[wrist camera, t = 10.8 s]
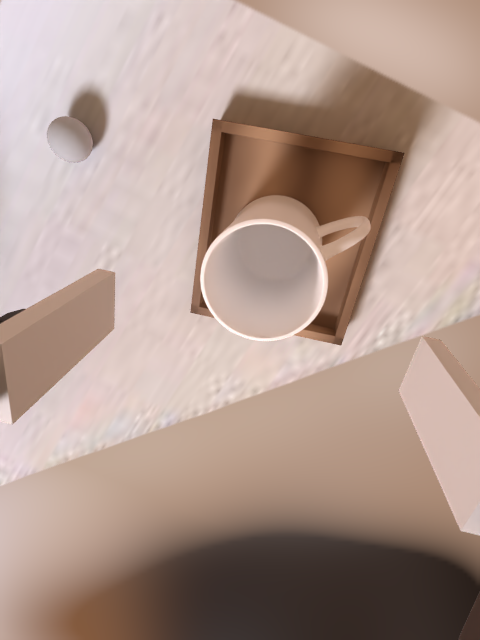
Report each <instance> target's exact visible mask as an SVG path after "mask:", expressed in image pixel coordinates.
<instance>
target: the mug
mask: <svg viewBox="0 0 480 640" xmlns="http://www.w3.org/2000/svg"><path fill="white" fill-rule="evenodd" d="M353 227H357V228H356V229H355V230H353V231H352V232H350V233H349V234H347V235H345V236H343V237H342V238H340V239H338V240H336V241H334V242H331V243H329V244H326V245H323V246H322V237H323V236H325V235H327V234H330V233H333V232H336V231H339V230H343V229H347V228H353ZM370 229H371V224H370V221H369V220H368V218H366V217H364V216H354V217H348V218H344V219H340V220H337V221H333V222H330V223H327V224H324V225H321V226H319V223H318V221H317V219H316V217H315V216H314V214H313V213H312V212H311V211H310V209H309V208H307V207H306V206H305V205H304V204H303V203H301V202H299V201H298V200H296V199H293V198H290V197H287V196H281V195H270V196H265V197H261V198H259V199H256V200H254V201H252V202H251V203H249V204H248V205H247V206H245V207H244V208H243V209H242V210H241V211H240V212H239V214H238V215H237V217H236V218H235V220H234V222H232V223H231V224H230V225H229V226H228V227H227V228H226V229H225V230H224V231H223V232H222V233H221V234H220V235H219V236H218V237H217V238H216V239H215V240H214V241H213V243H212V244H211V245H210V247H209V248H208V250H207V252H206V254H205V257H204V259H203V263H202V267H201V274H200V283H201V290H202V294H203V298H204V300H205V303H206V305H207V307H208V309H209V310H210V312H211V313H212V315H213V316H214V317H215V318H216V319H217V321H218V322H219V323H220V324H222V325H223V326H224V327H225V328H227V329H228V330H230V331H231V332H233V333H235V334H237V335H239V336H241V337H244V338H247V339H251V340H257V341H274V340H280V339H284V338H287V337H290V336H292V335H294V334H296V333H298V332H300V331H301V330H303V329H304V328H305V327H307V326H308V325H309V324H310V323H311V322H312V321H313V320H314V319H315V317H316V316H317V315H318V313H319V312H320V310H321V308H322V306H323V304H324V301H325V298H326V295H327V289H328V272H327V267H326V262H325V261H327V260H328V259H329V258H331V257H333V256H335V255H337V254H339V253H341V252H343V251H344V250H346V249H348V248H350V247H352V246H353V245H355V244H356V243H358V242H359V241H361V240H362V239H363V238H364V237H365V236H366V235H367V234H368V233H369V231H370Z"/></svg>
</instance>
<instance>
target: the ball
mask: <svg viewBox="0 0 480 640" xmlns="http://www.w3.org/2000/svg"><path fill="white" fill-rule="evenodd" d="M47 139H48V143H49V146H50V148H51V149H52V151H53V152H54V153H55V154H56V155H57V156H58V157H59V158H61V159H62V160H65V161H67V162H73V163H76V162H81V161H83V160H85V159H86V158H87V157H88V156H89V155H90V153H91V151H92V147H93V141H92V136H91V134H90V132H89V130H88V128H87V127H86V126H85V125H84V124H83V123H82V122H81V121H79V120H77V119H75V118H72V117H67V116H64V117H59V118H57V119H55V120H54V121H52V123H51V124H50V125H49V127H48V131H47Z"/></svg>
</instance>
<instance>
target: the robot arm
mask: <svg viewBox="0 0 480 640" xmlns="http://www.w3.org/2000/svg"><path fill="white" fill-rule="evenodd" d="M114 307H115V272H111V271H106V270H101V269H97V270H95V271H93V272H92V273H90V274H88V275H86V276H84V277H83V278H81V279H79V280H77V281H76V282H74V283H72V284H70V285H68V286H67V287H65V288H63V289H61V290H59V291H58V292H56V293H54V294H52V295H51V296H49V297H47V298H45V299H43V300H42V301H40V302H38V303H36V304H34V305H33V306H31V307H29V308H27V309H21V310H17V311H14V312H10V313H7V314H5V315H4V316H2V317H0V422H4V423H8V424H13V423H15V422H16V421H17V420H18V419H19V418H20V417H21V416H22V415H23V414H24V413H25V412H26V411H27V410H28V409H29V408H30V407H32V406H33V405H34V404H35V403H36V402H37V401H38V400H39V399H40V398H41V397H42V396H43V395H44V394H45V393H46V392H47V391H49V390H50V389H51V388H52V387H53V386H54V385H55V384H56V383H57V382H58V381H59V380H60V379H61V378H62V377H63V376H64V375H66V374H67V373H68V372H69V371H70V370H71V369H72V368H73V367H74V366H75V365H76V364H77V363H78V362H79V361H80V360H81V359H83V358H84V357H85V356H86V355H87V354H88V353H89V352H90V351H91V350H92V349H93V348H94V347H95V346H96V345H97V344H98V343H100V342H101V341H102V340H103V339H104V338H105V337H106V336H107V335H108V334H109V333H110V332H111V331H112V330H113V329H114ZM399 393H400V395H401V397H402V400H403V402H404V404H405V406H406V409H407V411H408V413H409V415H410V418H411V420H412V422H413V424H414V427H415V429H416V431H417V433H418V436H419V438H420V440H421V443H422V445H423V447H424V449H425V451H426V454H427V456H428V458H429V460H430V463H431V465H432V467H433V469H434V472H435V474H436V476H437V479H438V481H439V483H440V485H441V488H442V490H443V492H444V494H445V497H446V499H447V501H448V503H449V505H450V508H451V510H452V512H453V514H454V517H455V519H456V521H457V524H458V526H459V528H460V530H461V531H464V532H468V533H472V534H476V535H480V388H479V387H478V386H477V385H476V383H475V382H474V381H473V380H472V378H471V377H470V376H469V375H468V373H467V372H466V371H465V370H464V368H463V367H462V366H461V365H460V363H459V362H458V361H457V360H456V358H455V357H454V356H453V355H452V354H451V352H450V351H449V350H448V348H447V347H446V346H445V345H444V343H443V342H442V341H441V340H438V339H433V338H429V337H424V336H422V337H421V340H420V342H419V344H418V346H417V349H416V351H415V354H414V356H413V358H412V360H411V363H410V365H409V367H408V370H407V372H406V374H405V377H404V379H403V381H402V383H401V386H400V388H399ZM458 640H480V592H479V595H478V597H477V599H476V601H475V603H474V605H473V608H472V610H471V612H470V614H469V617H468V619H467V621H466V623H465V625H464V627H463V630H462V632H461V634H460V636H459V639H458Z"/></svg>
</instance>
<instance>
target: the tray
mask: <svg viewBox="0 0 480 640" xmlns="http://www.w3.org/2000/svg"><path fill="white" fill-rule="evenodd" d="M403 156H404V153H402V152H396V151H390V150H385V149H379V148H374V147H368V146H362V145H357V144H351V143H346V142H340V141H334V140H329V139H323V138H318V137H312V136H306V135H301V134H295V133H290V132H284V131H278V130H273V129H267V128H262V127H256V126H250V125H245V124H239V123H234V122H228V121H222V120H217V119H213V123H212V131H211V140H210V148H209V157H208V166H207V174H206V183H205V192H204V200H203V209H202V217H201V226H200V235H199V243H198V252H197V260H196V269H195V278H194V286H193V295H192V304H191V312H190V313H195V314H199V315H204V316H209V317H213V318H215V317H214V316H213V315H212V313H211V312H210V310H209V309H208V307H207V305H206V303H205V300H204V298H203V294H202V290H201V283H200V274H201V267H202V263H203V259H204V257H205V254H206V252H207V250H208V248H209V247H210V245H211V244H212V243H213V241H214V240H215V239H216V238H217V237H218V236H219V235H220V234H221V233H222V232H223V231H224V230H225V229H226V228H227V227H228V226H229V225H230V224H231V223H232V222H234V220H235V218H236V217H237V215H238V214H239V212H240V211H241V210H242V209H243V208H244V207H245V206H247V205H248V204H249V203H251V202H252V201H254V200H256V199H259V198H261V197H265V196H270V195H281V196H287V197H290V198H293V199H296V200H298V201H299V202H301V203H303V204H304V205H305V206H306V207H307V208H309V209H310V211H311V212H312V213H313V214H314V216H315V217H316V219H317V221H318V223H319V226H321V225H324V224H327V223H330V222H333V221H337V220H340V219H344V218H348V217H354V216H364V217H366V218H368V220H369V221H370V224H371V229H370V231H369V233H368V234H367V235H366V236H365V237H364V238H363V239H362V240H361V241H359V242H358V243H356V244H355V245H353V246H352V247H350V248H348V249H346V250H344V251H343V252H341V253H339V254H337V255H335V256H333V257H331V258H329V259H328V260H327V261H325V262H326V267H327V272H328V289H327V295H326V298H325V301H324V304H323V306H322V308H321V310H320V312H319V313H318V315H317V316H316V317H315V319H314V320H313V321H312V322H311V323H310V324H309V325H308V326H307V327H305V328H304V329H303V330H301V331H300V332H298V333H296V334H294V335H296V336H300V337H305V338H310V339H314V340H319V341H323V342H328V343H333V344H337V345H341V344H342V341H343V338H344V335H345V332H346V329H347V326H348V323H349V320H350V317H351V314H352V311H353V308H354V305H355V302H356V299H357V296H358V293H359V290H360V287H361V284H362V281H363V277H364V274H365V271H366V268H367V265H368V262H369V259H370V256H371V253H372V250H373V247H374V244H375V241H376V238H377V235H378V232H379V229H380V226H381V223H382V220H383V217H384V214H385V211H386V207H387V204H388V201H389V198H390V195H391V192H392V189H393V186H394V183H395V180H396V177H397V174H398V171H399V168H400V165H401V162H402V159H403ZM356 228H357V227H353V228H347V229H343V230H339V231H336V232H333V233H330V234H327V235H325V236H323V237H322V246H323V245H326V244H329V243H331V242H334V241H336V240H338V239H340V238H342V237H343V236H345V235H347V234H349V233H350V232H352V231H353V230H355V229H356Z"/></svg>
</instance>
